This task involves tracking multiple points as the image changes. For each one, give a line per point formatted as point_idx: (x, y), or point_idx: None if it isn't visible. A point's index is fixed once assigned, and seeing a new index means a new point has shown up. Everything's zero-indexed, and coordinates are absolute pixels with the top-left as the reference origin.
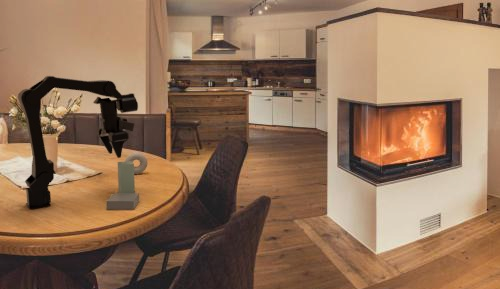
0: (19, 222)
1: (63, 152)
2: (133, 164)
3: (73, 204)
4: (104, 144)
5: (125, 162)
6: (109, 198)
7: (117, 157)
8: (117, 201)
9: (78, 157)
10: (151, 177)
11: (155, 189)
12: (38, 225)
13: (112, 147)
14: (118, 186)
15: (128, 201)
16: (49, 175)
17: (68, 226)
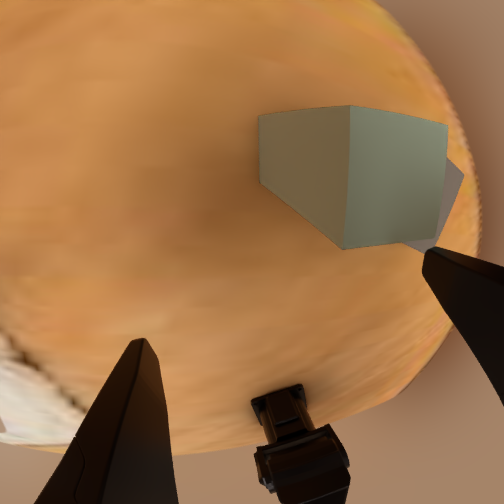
0: (370, 396)
1: None
2: (444, 128)
3: (315, 338)
4: (176, 496)
5: (388, 178)
6: (414, 245)
7: (424, 277)
8: (444, 222)
9: None
10: (16, 20)
11: (244, 4)
12: (405, 365)
13: (494, 378)
14: (271, 191)
15: (458, 189)
16: (345, 453)
17: (442, 317)
